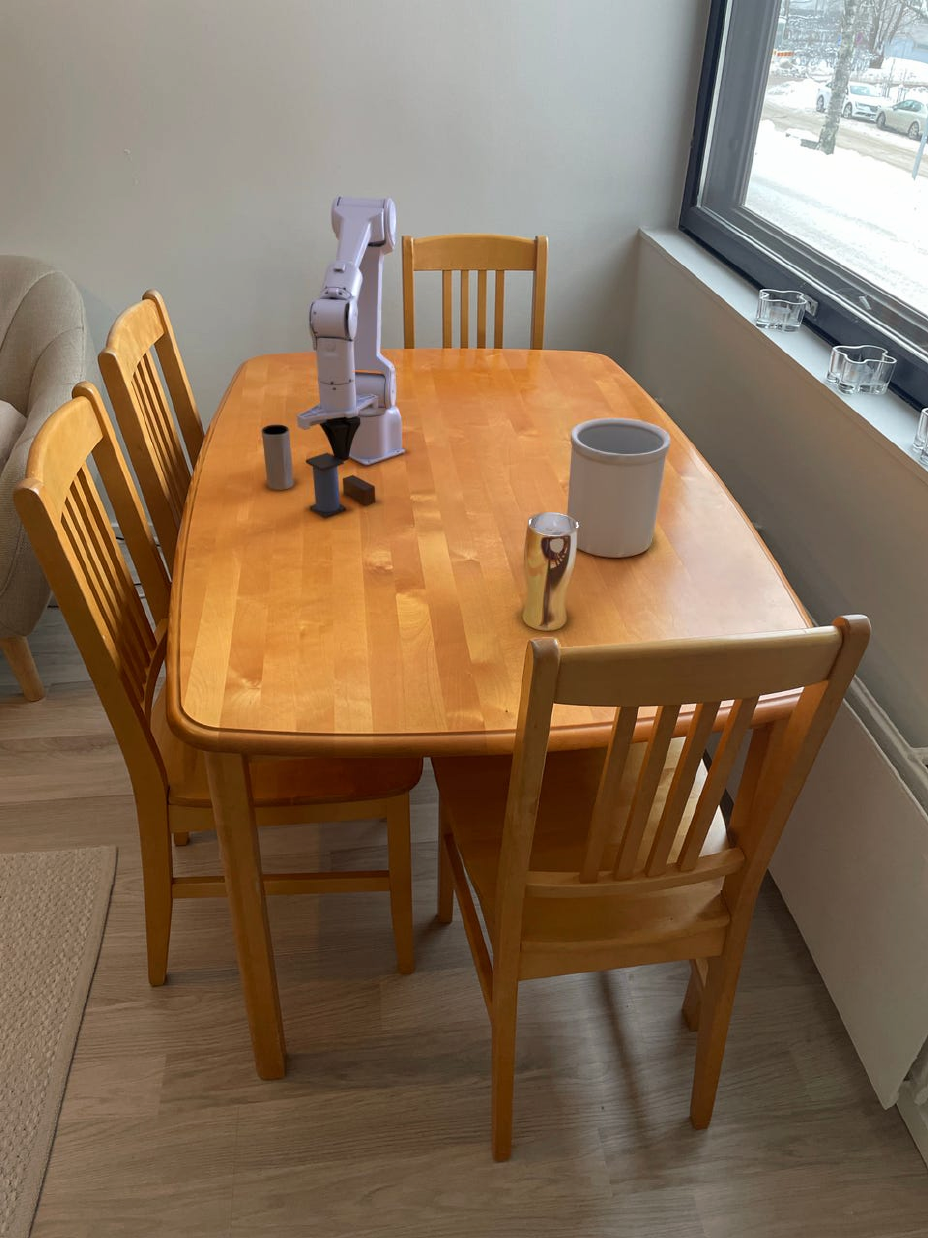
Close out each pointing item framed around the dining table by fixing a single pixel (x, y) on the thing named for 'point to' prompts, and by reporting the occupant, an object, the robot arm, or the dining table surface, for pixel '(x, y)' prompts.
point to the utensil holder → (616, 484)
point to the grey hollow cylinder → (277, 457)
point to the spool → (326, 485)
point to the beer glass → (549, 568)
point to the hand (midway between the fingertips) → (341, 459)
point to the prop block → (359, 490)
